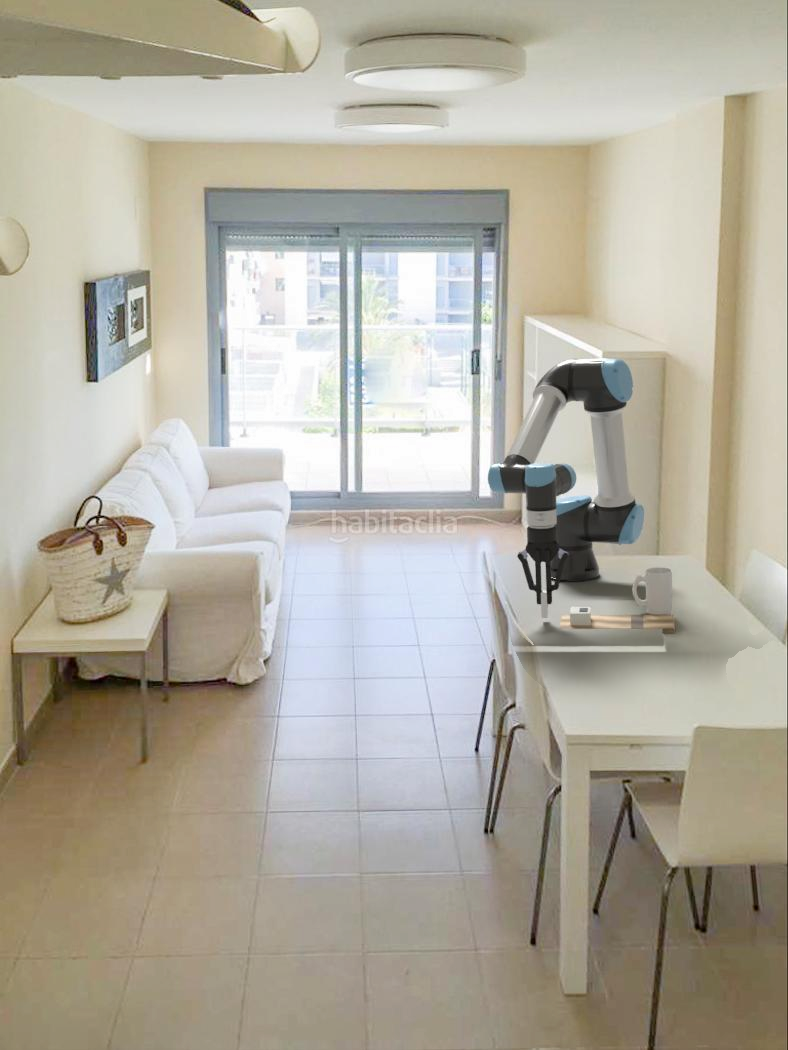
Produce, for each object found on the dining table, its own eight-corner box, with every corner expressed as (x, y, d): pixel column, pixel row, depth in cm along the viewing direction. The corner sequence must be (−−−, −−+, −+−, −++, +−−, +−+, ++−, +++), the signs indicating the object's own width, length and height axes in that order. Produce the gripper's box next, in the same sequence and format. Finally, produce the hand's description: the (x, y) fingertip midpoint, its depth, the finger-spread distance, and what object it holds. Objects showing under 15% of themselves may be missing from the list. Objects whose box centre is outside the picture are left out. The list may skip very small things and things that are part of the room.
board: (562, 619, 323) (561, 615, 323) (673, 619, 318) (673, 614, 317) (559, 633, 311) (559, 628, 311) (674, 632, 306) (674, 628, 306)
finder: (571, 618, 319) (570, 606, 319) (591, 618, 318) (590, 606, 318) (570, 625, 314) (569, 612, 313) (590, 625, 313) (590, 612, 312)
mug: (671, 611, 324) (670, 566, 322) (674, 619, 318) (673, 573, 315) (631, 612, 325) (631, 568, 323) (633, 620, 319) (633, 574, 317)
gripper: (514, 529, 310) (517, 620, 315) (567, 528, 308) (570, 620, 313) (517, 522, 317) (520, 612, 322) (568, 521, 315) (571, 612, 320)
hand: (544, 616), depth 317 cm, fingers closed
